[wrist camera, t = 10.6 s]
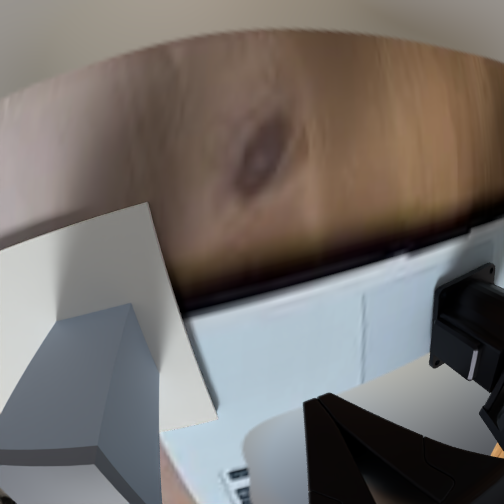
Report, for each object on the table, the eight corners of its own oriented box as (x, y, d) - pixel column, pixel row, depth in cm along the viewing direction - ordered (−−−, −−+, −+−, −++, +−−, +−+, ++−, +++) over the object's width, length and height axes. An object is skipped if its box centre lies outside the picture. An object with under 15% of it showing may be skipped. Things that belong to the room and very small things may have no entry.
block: (131, 302, 14) (94, 464, 5) (159, 373, 15) (164, 536, 6) (56, 321, 13) (-23, 462, 4) (89, 388, 14) (56, 536, 6)
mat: (148, 201, 13) (146, 203, 13) (216, 412, 17) (218, 419, 16) (-83, 285, 11) (-88, 288, 10) (3, 441, 14) (1, 446, 14)
